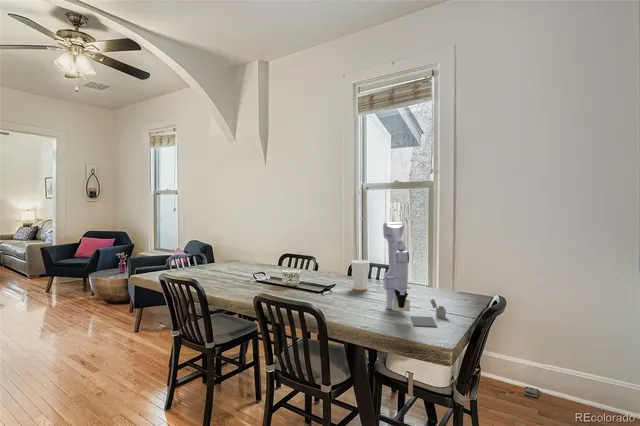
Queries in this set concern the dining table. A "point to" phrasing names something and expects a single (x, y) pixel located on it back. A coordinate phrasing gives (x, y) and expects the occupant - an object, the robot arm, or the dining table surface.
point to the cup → (360, 274)
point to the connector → (396, 307)
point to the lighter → (439, 309)
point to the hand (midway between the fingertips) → (400, 306)
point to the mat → (423, 321)
